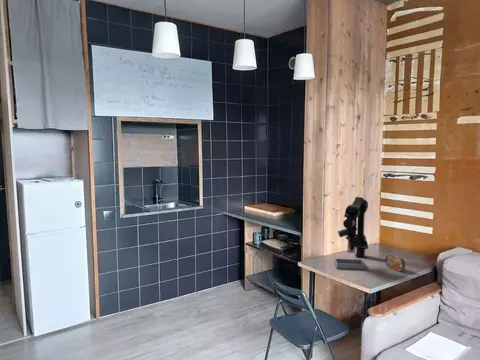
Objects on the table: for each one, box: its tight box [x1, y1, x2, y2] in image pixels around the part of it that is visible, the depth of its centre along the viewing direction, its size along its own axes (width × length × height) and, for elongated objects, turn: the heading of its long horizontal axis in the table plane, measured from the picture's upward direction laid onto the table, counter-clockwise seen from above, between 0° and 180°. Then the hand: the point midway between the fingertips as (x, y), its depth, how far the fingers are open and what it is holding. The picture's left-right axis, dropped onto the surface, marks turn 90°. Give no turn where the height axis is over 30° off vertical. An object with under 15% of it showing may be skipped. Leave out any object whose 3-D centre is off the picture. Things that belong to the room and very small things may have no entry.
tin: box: [384, 254, 406, 272], centre depth 235 cm, size 15×3×8 cm, turn 21°
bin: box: [333, 258, 366, 271], centre depth 239 cm, size 11×18×4 cm, turn 83°
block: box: [347, 241, 356, 254], centre depth 238 cm, size 4×4×6 cm
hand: (351, 249), depth 239 cm, fingers closed on block, 4 cm apart
